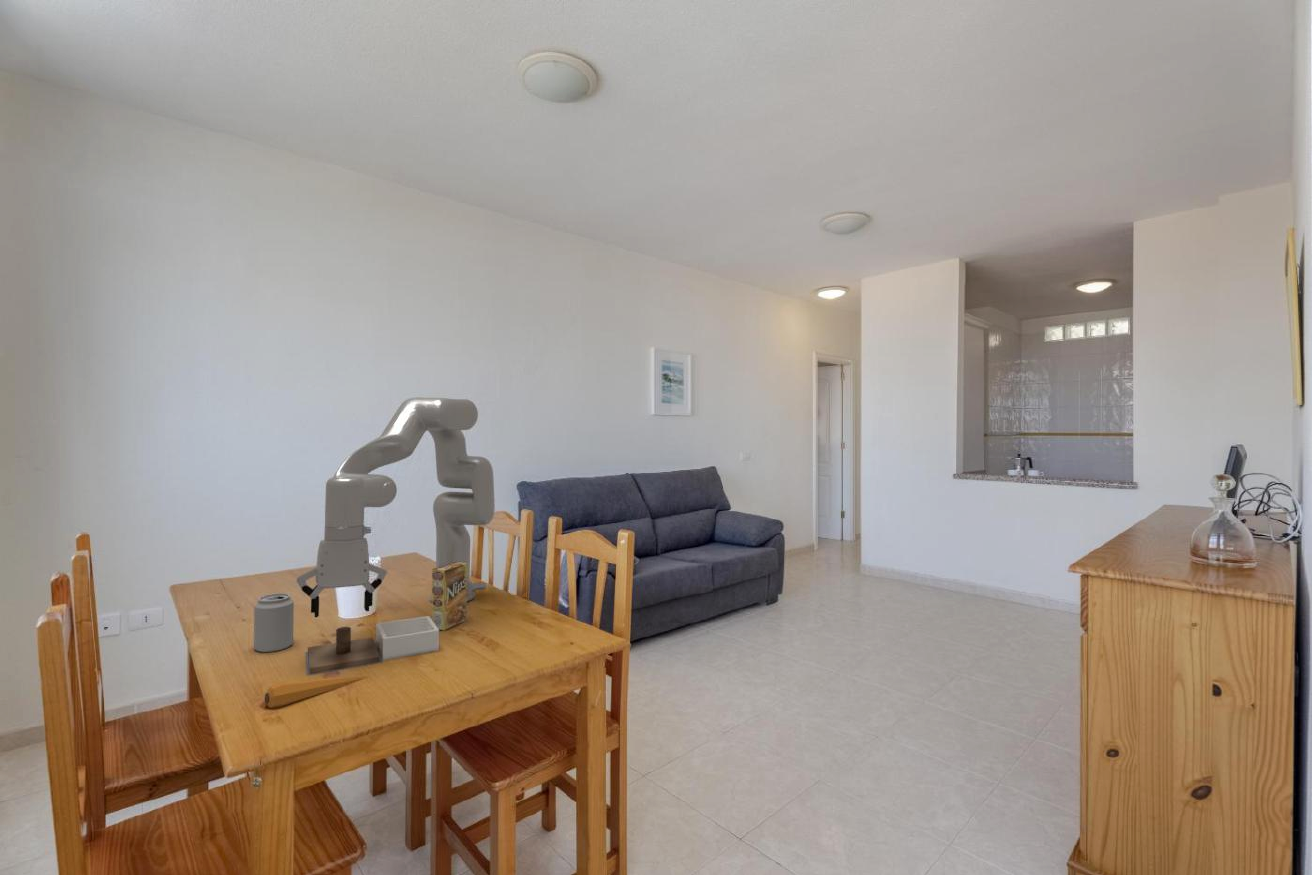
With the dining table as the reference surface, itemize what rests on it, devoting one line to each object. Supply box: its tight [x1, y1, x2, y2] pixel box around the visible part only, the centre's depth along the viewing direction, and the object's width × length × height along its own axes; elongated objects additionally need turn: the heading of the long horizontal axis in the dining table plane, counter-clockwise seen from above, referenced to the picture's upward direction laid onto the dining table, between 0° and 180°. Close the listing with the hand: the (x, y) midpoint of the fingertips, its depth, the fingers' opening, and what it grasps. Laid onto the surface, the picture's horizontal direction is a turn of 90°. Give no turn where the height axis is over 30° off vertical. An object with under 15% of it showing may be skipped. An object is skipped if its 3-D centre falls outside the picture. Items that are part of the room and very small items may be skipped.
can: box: [253, 592, 295, 653], centre depth 134 cm, size 8×8×12 cm
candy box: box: [431, 562, 468, 632], centre depth 152 cm, size 9×4×15 cm, turn 160°
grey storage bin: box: [375, 615, 440, 661], centre depth 135 cm, size 12×12×5 cm
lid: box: [307, 626, 381, 674], centre depth 129 cm, size 13×13×6 cm
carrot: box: [264, 675, 370, 709], centre depth 113 cm, size 20×4×4 cm, turn 140°
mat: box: [304, 640, 383, 677], centre depth 129 cm, size 14×14×1 cm
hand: (342, 612), depth 128 cm, fingers open, 9 cm apart
